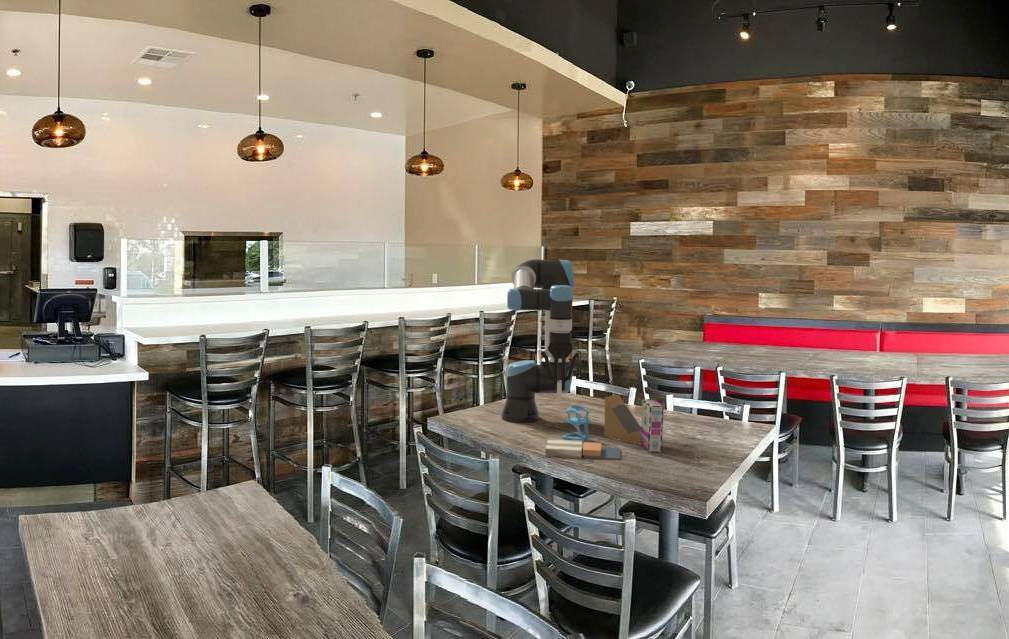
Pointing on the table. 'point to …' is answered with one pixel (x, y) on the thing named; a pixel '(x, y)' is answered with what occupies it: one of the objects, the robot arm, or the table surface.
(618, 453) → the mat
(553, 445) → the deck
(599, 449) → the orange flat block
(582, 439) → the chair
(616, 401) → the sandwich container
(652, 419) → the candy bar box
